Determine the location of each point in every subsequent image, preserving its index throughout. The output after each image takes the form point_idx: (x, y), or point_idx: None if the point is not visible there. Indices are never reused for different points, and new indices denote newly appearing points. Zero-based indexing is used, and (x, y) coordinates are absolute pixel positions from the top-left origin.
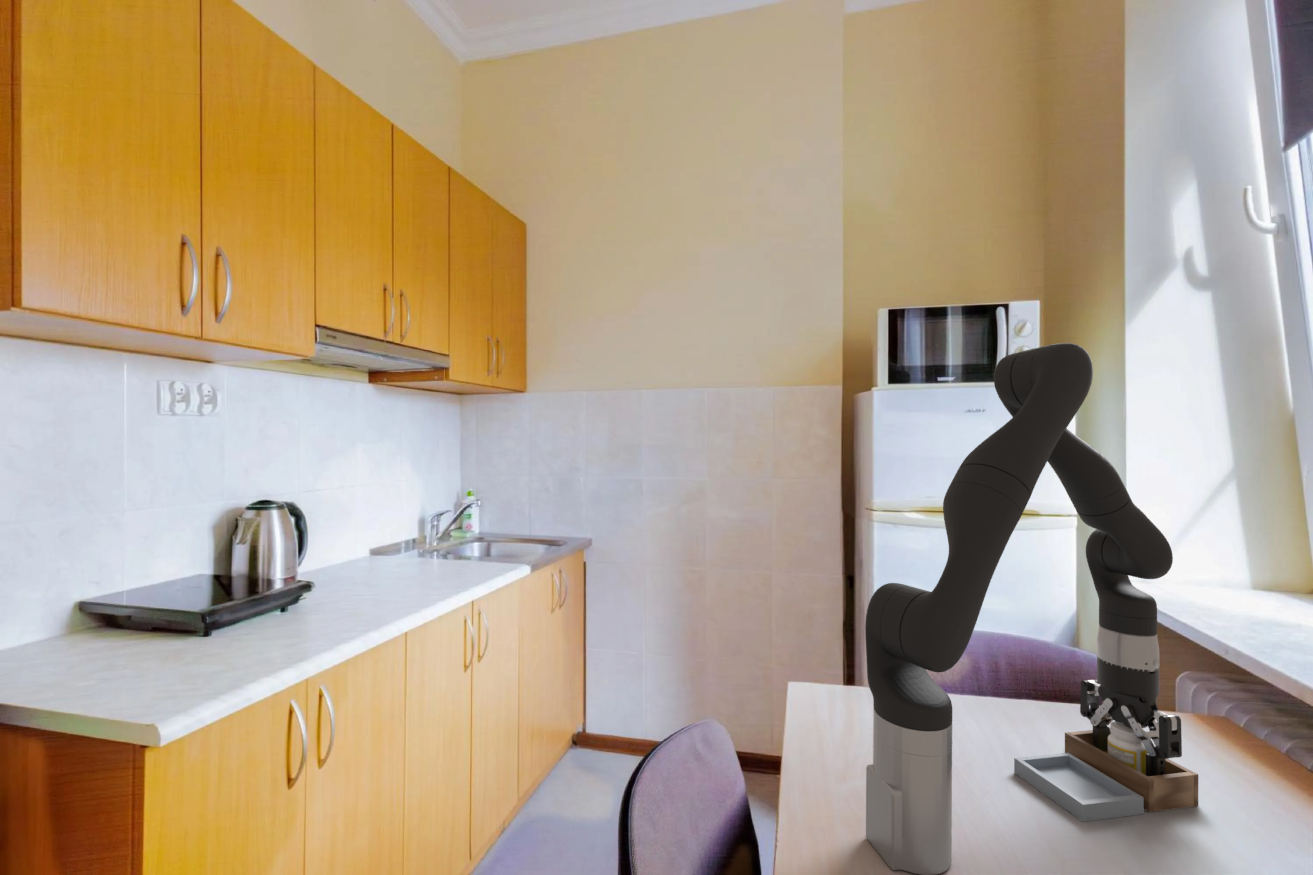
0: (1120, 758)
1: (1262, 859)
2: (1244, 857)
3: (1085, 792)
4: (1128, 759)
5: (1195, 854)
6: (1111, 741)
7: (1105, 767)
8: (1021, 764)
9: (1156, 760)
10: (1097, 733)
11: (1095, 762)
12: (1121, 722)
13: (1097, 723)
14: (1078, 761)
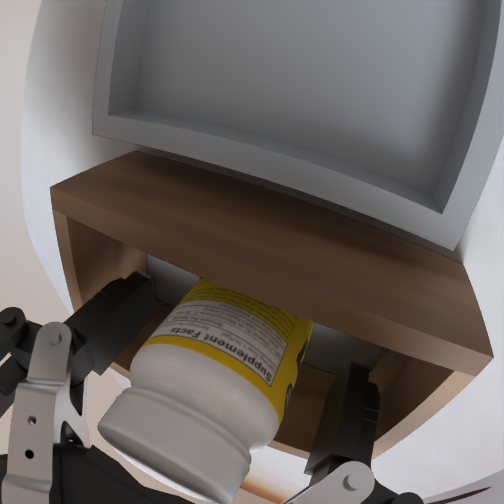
0: (205, 306)
1: (28, 192)
2: (30, 169)
3: (248, 8)
4: (175, 312)
5: (39, 83)
6: (223, 377)
7: (258, 226)
8: None
9: (73, 320)
10: (344, 428)
11: (316, 245)
12: (143, 487)
13: (328, 478)
14: (381, 189)
